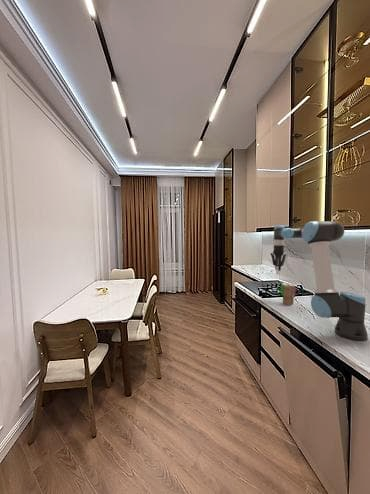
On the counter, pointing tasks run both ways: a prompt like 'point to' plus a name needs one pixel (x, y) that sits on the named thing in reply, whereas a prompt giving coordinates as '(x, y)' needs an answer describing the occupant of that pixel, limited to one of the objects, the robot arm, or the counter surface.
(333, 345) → the counter surface
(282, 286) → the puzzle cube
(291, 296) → the walnut block
